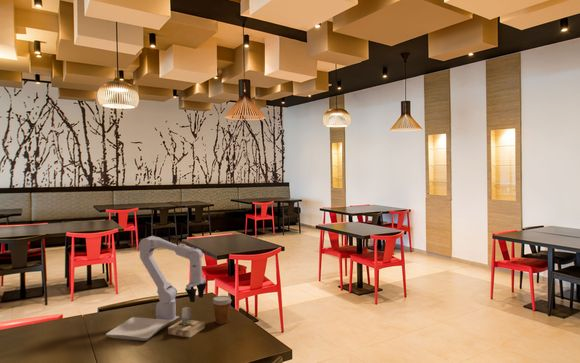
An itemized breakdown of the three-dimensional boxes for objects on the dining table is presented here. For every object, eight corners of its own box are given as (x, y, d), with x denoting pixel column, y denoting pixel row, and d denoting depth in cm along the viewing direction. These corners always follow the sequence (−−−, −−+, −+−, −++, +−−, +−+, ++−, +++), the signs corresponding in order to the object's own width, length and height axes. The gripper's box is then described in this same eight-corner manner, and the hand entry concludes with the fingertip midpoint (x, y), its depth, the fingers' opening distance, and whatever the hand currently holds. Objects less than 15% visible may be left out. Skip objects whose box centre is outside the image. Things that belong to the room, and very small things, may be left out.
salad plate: (147, 344, 172) (147, 337, 171) (104, 341, 176) (104, 333, 176) (171, 326, 192) (171, 319, 192) (132, 323, 197) (132, 316, 197)
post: (181, 323, 185) (181, 308, 185) (185, 321, 188) (185, 306, 187) (187, 324, 184) (187, 309, 184) (191, 322, 186) (191, 307, 186)
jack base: (168, 334, 182) (168, 326, 182) (183, 324, 193) (183, 317, 193) (190, 337, 178) (189, 330, 178) (204, 328, 189) (204, 320, 189)
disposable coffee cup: (233, 318, 201) (233, 295, 201) (228, 325, 192) (228, 301, 192) (215, 318, 202) (215, 295, 202) (210, 325, 193) (209, 300, 193)
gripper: (194, 277, 192) (195, 304, 192) (210, 270, 205) (211, 296, 205) (182, 276, 194) (183, 303, 194) (198, 269, 208) (199, 294, 208)
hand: (196, 299), depth 200 cm, fingers open, 7 cm apart
